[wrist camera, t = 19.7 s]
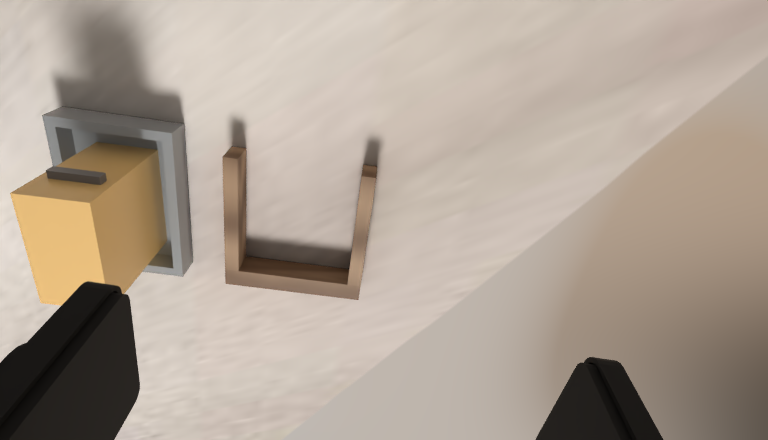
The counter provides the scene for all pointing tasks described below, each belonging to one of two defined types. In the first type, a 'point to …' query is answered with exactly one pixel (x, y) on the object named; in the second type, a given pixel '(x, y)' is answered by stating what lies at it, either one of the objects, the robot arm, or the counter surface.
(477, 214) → the counter surface
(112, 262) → the yellow block
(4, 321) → the counter surface
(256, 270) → the walnut bay
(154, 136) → the grey tray
